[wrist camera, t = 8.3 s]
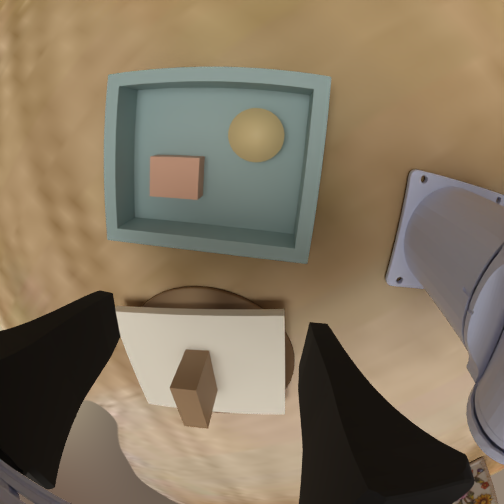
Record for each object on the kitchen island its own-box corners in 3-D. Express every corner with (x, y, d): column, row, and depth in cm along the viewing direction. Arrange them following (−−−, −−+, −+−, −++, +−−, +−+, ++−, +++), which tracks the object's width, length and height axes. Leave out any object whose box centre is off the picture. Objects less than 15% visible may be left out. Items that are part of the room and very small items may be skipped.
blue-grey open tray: (323, 85, 15) (331, 76, 12) (304, 244, 19) (307, 263, 16) (132, 80, 16) (108, 74, 13) (129, 224, 20) (107, 239, 17)
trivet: (309, 299, 21) (309, 302, 20) (280, 417, 26) (280, 420, 26) (121, 273, 21) (119, 276, 21) (143, 393, 27) (142, 396, 26)
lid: (284, 302, 20) (283, 357, 15) (285, 400, 24) (283, 452, 19) (121, 300, 22) (85, 343, 17) (153, 391, 26) (134, 435, 21)
